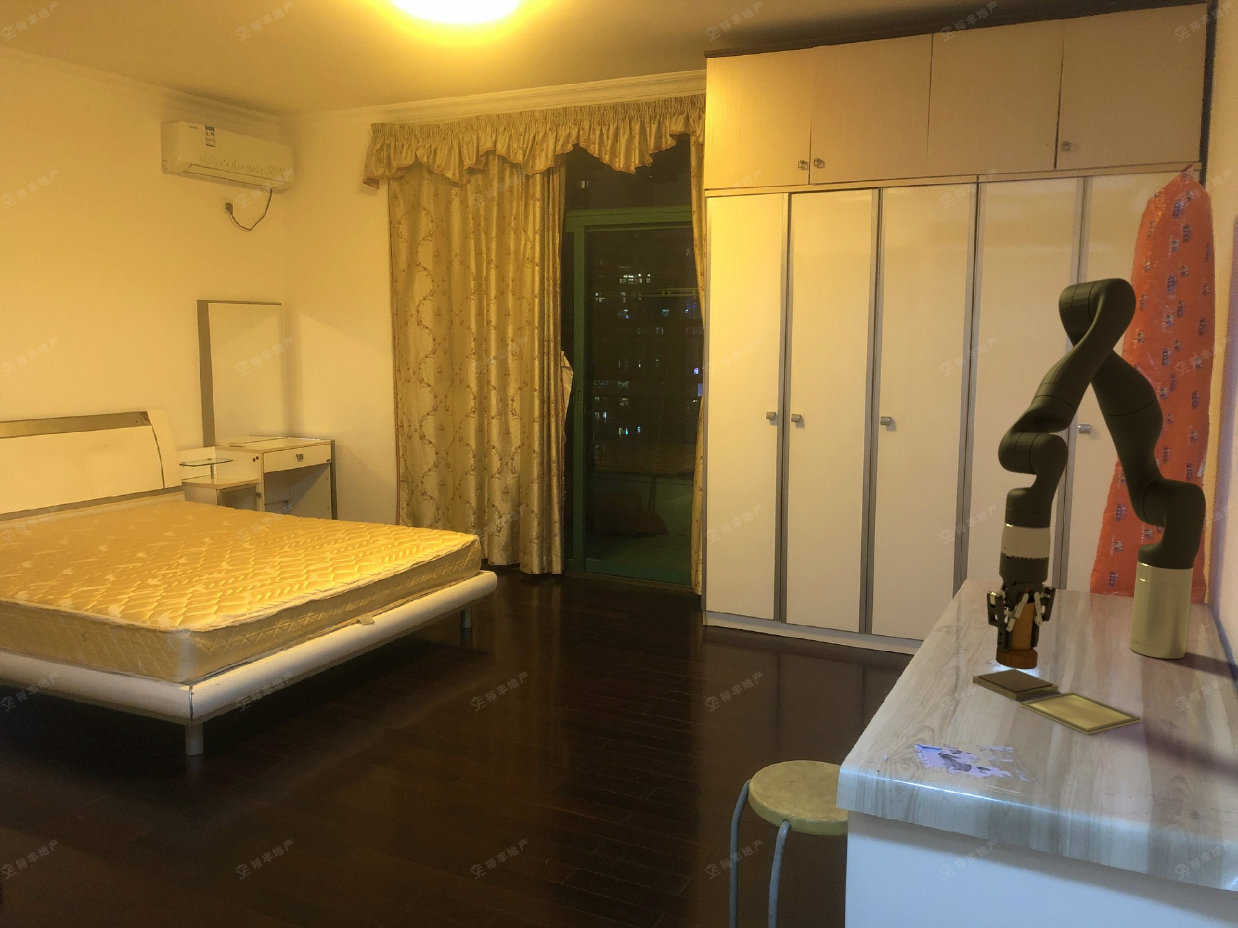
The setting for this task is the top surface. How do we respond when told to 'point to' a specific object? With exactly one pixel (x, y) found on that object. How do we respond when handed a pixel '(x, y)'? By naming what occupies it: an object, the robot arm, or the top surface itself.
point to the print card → (1080, 712)
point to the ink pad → (1015, 684)
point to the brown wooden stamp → (1020, 642)
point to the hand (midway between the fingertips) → (1017, 648)
